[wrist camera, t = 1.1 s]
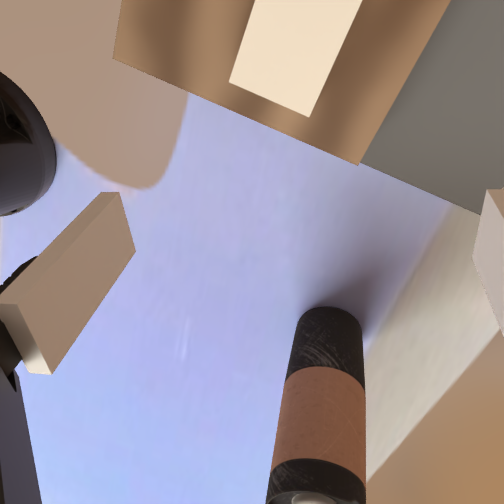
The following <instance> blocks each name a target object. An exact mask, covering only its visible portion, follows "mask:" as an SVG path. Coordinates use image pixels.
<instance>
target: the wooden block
mask: <svg viewBox="0 0 504 504" xmlns="http://www.w3.org/2000/svg"><path fill="white" fill-rule="evenodd" d="M450 1H451V0H362V2H361V4H360V7H359V9H358V11H357V13H356V15H355V18H354V20H353V22H352V24H351V26H350V29H349V31H348V33H347V35H346V37H345V40H344V42H343V44H342V46H341V48H340V51H339V53H338V55H337V57H336V59H335V62H334V64H333V66H332V68H331V70H330V73H329V75H328V77H327V79H326V81H325V84H324V86H323V88H322V90H321V92H320V95H319V97H318V99H317V101H316V103H315V106H314V108H313V110H312V112H311V114H310V117H307V116H305V115H302V114H300V113H298V112H296V111H293V110H291V109H289V108H287V107H284V106H282V105H280V104H277V103H275V102H273V101H271V100H268V99H266V98H264V97H262V96H259V95H257V94H255V93H252V92H250V91H248V90H246V89H243V88H241V87H239V86H237V85H234V84H232V83H230V82H229V79H230V76H231V73H232V70H233V67H234V64H235V61H236V58H237V55H238V52H239V49H240V45H241V42H242V39H243V36H244V33H245V30H246V27H247V24H248V21H249V18H250V15H251V12H252V8H253V5H254V2H255V0H122V3H121V10H120V16H119V22H118V28H117V35H116V41H115V47H114V53H113V59H115V60H117V61H120V62H122V63H124V64H127V65H129V66H131V67H133V68H136V69H138V70H140V71H143V72H145V73H147V74H149V75H152V76H154V77H156V78H158V79H161V80H163V81H165V82H168V83H170V84H172V85H175V86H177V87H179V88H181V89H184V90H186V91H188V92H190V93H193V94H195V95H197V96H200V97H202V98H204V99H206V100H209V101H211V102H213V103H216V104H218V105H220V106H222V107H225V108H227V109H229V110H232V111H234V112H236V113H238V114H241V115H243V116H245V117H248V118H250V119H252V120H254V121H257V122H259V123H261V124H264V125H266V126H268V127H270V128H273V129H275V130H277V131H280V132H282V133H284V134H286V135H289V136H291V137H293V138H296V139H298V140H300V141H302V142H305V143H307V144H309V145H311V146H314V147H316V148H318V149H321V150H323V151H325V152H327V153H330V154H332V155H334V156H337V157H339V158H341V159H343V160H346V161H348V162H350V163H353V164H355V165H357V166H358V165H359V163H360V161H361V159H362V157H363V156H364V154H365V152H366V150H367V149H368V147H369V145H370V143H371V141H372V140H373V138H374V136H375V134H376V133H377V131H378V129H379V127H380V125H381V124H382V122H383V120H384V118H385V117H386V115H387V113H388V111H389V109H390V108H391V106H392V104H393V102H394V101H395V99H396V97H397V95H398V93H399V92H400V90H401V88H402V86H403V85H404V83H405V81H406V79H407V78H408V76H409V74H410V72H411V70H412V69H413V67H414V65H415V63H416V62H417V60H418V58H419V56H420V54H421V53H422V51H423V49H424V47H425V46H426V44H427V42H428V40H429V38H430V37H431V35H432V33H433V31H434V30H435V28H436V26H437V24H438V22H439V21H440V19H441V17H442V15H443V14H444V12H445V10H446V8H447V6H448V5H449V3H450Z"/></svg>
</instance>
